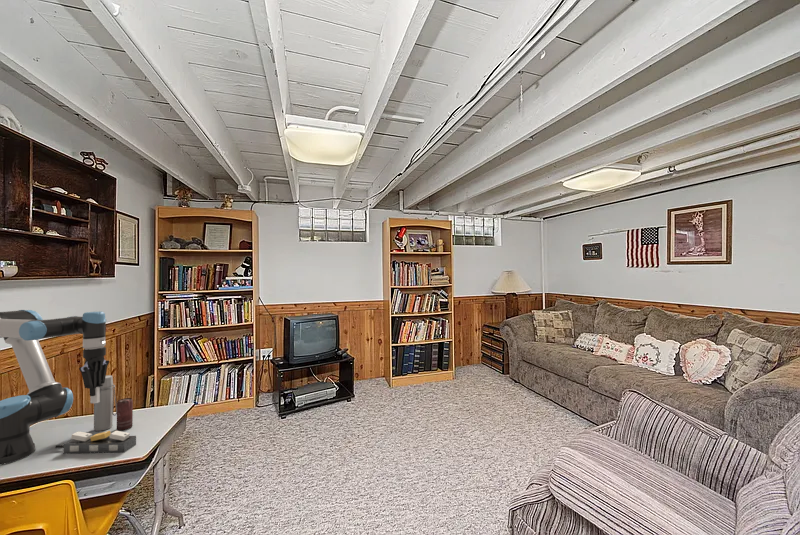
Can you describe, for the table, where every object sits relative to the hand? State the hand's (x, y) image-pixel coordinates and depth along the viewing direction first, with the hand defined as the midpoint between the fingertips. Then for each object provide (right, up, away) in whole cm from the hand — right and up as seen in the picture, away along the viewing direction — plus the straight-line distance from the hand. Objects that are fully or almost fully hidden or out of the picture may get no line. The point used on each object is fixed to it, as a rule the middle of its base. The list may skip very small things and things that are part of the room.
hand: (95, 402), depth 153 cm
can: (-3, -21, +21) cm, 30 cm away
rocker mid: (+2, -14, 0) cm, 15 cm away
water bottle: (-13, -21, +22) cm, 33 cm away
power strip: (-1, -20, 0) cm, 20 cm away
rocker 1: (-6, -14, 0) cm, 15 cm away
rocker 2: (+10, -14, 0) cm, 18 cm away
